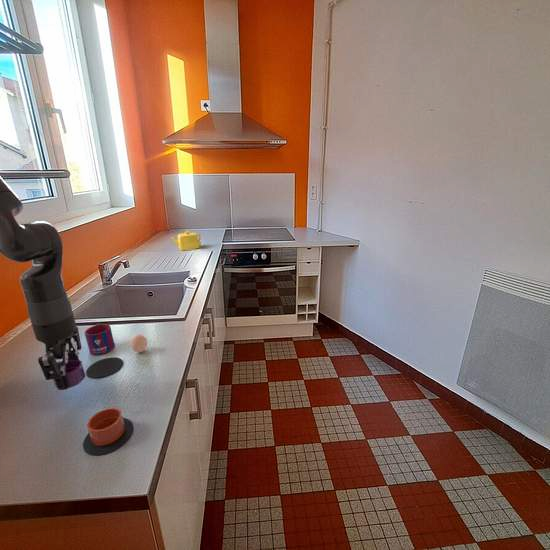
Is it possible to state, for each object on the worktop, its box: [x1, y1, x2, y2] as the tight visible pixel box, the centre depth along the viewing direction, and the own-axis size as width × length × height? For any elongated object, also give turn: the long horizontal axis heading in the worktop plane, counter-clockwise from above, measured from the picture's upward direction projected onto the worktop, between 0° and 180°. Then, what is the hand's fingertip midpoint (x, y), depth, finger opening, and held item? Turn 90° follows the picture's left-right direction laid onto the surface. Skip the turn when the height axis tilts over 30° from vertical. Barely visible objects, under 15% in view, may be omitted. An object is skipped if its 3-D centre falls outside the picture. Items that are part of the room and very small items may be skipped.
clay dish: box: [86, 407, 125, 446], centre depth 60 cm, size 6×6×4 cm
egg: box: [130, 333, 148, 354], centre depth 89 cm, size 4×4×6 cm
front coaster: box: [82, 417, 134, 457], centre depth 61 cm, size 9×9×1 cm
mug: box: [84, 322, 116, 356], centre depth 92 cm, size 7×10×7 cm
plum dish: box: [52, 359, 86, 389], centre depth 71 cm, size 6×6×4 cm
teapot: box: [171, 230, 202, 251], centre depth 209 cm, size 20×12×12 cm, turn 115°
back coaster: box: [85, 356, 124, 379], centre depth 82 cm, size 9×9×1 cm
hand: (70, 379), depth 71 cm, fingers closed on plum dish, 6 cm apart
